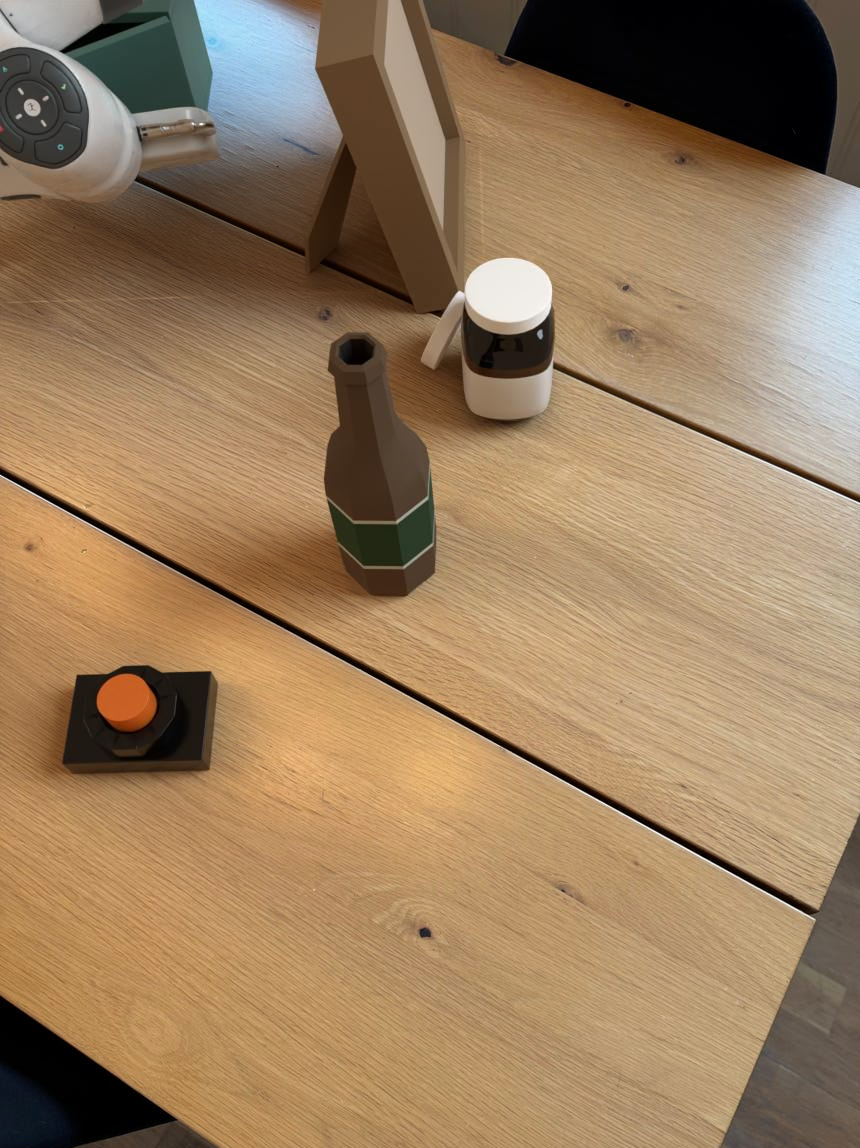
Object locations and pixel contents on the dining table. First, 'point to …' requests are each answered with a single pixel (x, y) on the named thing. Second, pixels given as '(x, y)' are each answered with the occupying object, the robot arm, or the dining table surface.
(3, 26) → the robot arm
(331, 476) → the beer bottle
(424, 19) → the photo frame
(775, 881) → the dining table surface
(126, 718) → the orange button
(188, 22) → the minifridge
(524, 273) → the spread jar
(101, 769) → the button panel
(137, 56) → the fridge door
